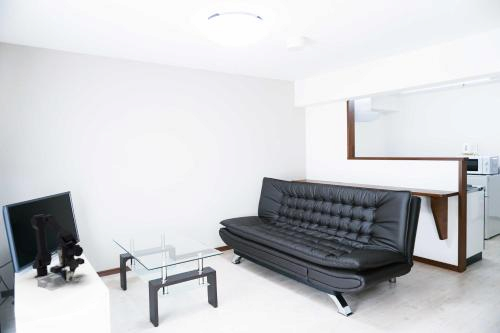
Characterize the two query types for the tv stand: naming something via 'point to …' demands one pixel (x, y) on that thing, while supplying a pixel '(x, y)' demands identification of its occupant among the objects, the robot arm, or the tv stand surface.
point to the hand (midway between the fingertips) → (68, 278)
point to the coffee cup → (60, 254)
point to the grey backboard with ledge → (54, 281)
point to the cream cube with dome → (69, 275)
